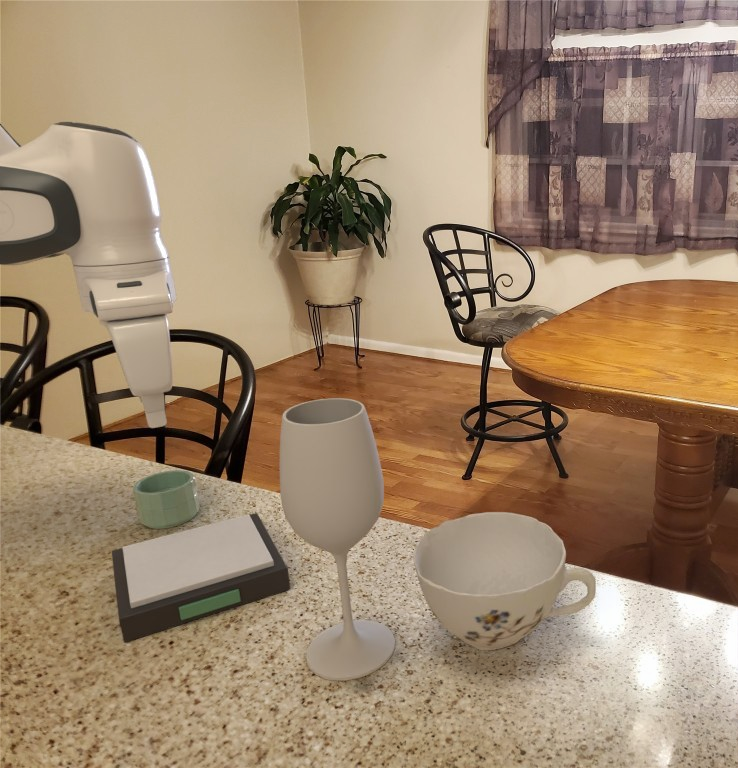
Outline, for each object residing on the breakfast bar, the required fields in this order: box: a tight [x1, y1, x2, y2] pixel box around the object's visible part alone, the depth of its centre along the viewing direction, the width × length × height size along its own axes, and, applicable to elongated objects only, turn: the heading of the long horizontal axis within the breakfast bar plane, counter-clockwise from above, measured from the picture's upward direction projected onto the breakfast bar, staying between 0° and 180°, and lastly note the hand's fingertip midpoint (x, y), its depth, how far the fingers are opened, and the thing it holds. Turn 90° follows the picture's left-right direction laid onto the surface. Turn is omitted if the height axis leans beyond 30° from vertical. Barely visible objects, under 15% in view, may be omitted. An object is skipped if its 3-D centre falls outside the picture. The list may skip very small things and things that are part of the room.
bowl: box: [132, 469, 201, 530], centre depth 79 cm, size 6×6×4 cm
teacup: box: [413, 511, 597, 651], centre depth 57 cm, size 15×12×8 cm
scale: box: [111, 512, 291, 643], centre depth 66 cm, size 14×13×3 cm
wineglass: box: [279, 397, 396, 681], centre depth 54 cm, size 8×8×21 cm
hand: (153, 412), depth 76 cm, fingers open, 8 cm apart
